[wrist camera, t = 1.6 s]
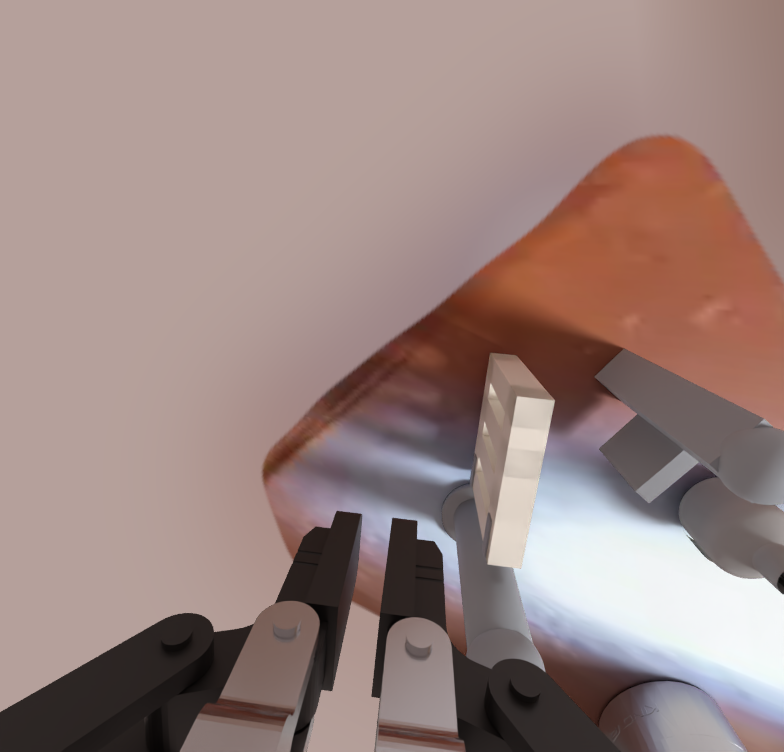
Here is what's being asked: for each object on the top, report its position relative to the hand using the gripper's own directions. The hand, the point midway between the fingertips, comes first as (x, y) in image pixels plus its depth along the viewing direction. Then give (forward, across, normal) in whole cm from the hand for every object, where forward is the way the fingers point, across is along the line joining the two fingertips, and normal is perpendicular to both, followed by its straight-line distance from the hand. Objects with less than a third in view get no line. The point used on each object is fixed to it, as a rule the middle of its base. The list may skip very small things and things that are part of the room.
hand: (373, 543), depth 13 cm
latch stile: (+17, -13, 0) cm, 21 cm away
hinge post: (+17, -6, +9) cm, 20 cm away
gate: (+16, -6, +2) cm, 17 cm away
